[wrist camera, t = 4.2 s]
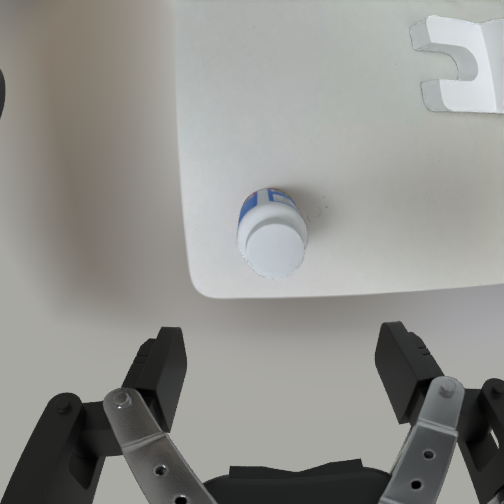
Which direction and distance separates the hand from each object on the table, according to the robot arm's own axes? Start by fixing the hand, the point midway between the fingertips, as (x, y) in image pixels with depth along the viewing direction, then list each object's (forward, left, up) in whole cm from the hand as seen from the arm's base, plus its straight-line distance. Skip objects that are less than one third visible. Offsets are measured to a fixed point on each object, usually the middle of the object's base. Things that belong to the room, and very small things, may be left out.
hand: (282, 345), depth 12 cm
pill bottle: (0, 0, -20) cm, 20 cm away
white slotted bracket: (+24, +17, -20) cm, 36 cm away
